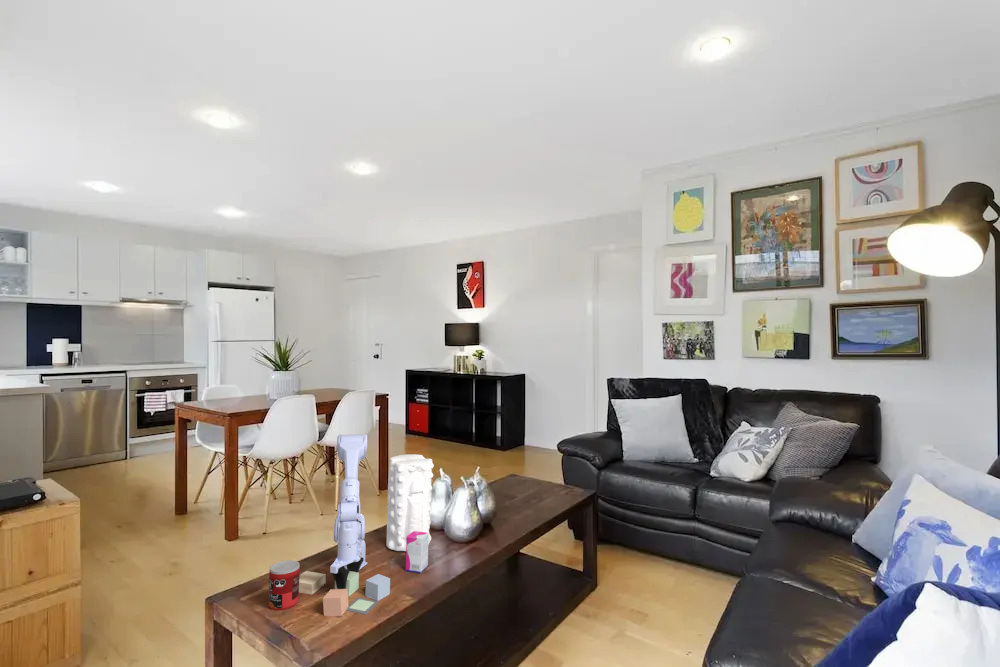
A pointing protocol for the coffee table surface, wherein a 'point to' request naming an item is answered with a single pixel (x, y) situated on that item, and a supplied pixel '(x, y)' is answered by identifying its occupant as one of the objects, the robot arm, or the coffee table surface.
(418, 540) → the supplement box
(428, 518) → the vase
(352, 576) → the sage cube
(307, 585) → the maple slab
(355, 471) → the robot arm
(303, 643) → the coffee table surface
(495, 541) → the coffee table surface
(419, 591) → the coffee table surface
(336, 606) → the terracotta cube
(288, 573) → the canned food
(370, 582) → the slate blue cube
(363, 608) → the tile
